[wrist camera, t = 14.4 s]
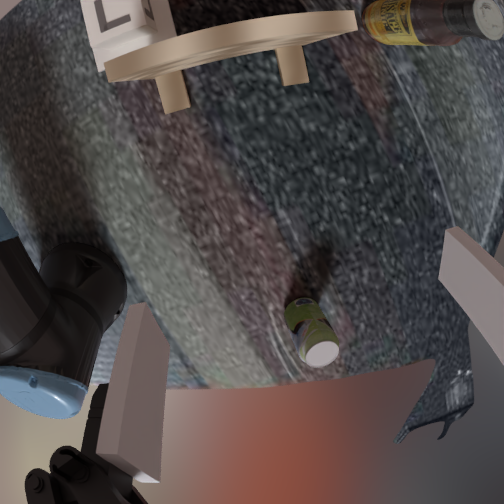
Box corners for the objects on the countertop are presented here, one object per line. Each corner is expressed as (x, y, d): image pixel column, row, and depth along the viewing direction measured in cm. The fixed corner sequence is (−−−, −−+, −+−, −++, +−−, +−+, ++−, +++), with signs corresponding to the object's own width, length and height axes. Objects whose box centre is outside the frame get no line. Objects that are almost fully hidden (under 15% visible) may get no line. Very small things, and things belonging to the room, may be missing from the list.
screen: (163, 114, 34) (126, 141, 20) (149, 66, 31) (103, 62, 17) (310, 81, 33) (368, 88, 20) (300, 33, 30) (353, 10, 17)
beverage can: (278, 321, 53) (291, 377, 43) (289, 287, 49) (306, 343, 39) (313, 322, 54) (331, 375, 44) (325, 289, 50) (349, 343, 40)
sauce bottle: (362, -4, 27) (464, -38, 10) (403, 13, 28) (514, 1, 11) (355, 38, 31) (460, 27, 14) (397, 54, 32) (509, 62, 15)
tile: (100, 72, 30) (98, 72, 29) (84, 5, 25) (82, 4, 24) (179, 43, 30) (178, 43, 29) (162, -25, 24) (160, -27, 24)
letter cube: (109, 50, 28) (90, 46, 23) (99, 9, 25) (79, 0, 20) (158, 31, 28) (147, 23, 23) (148, -10, 25) (135, -24, 19)
